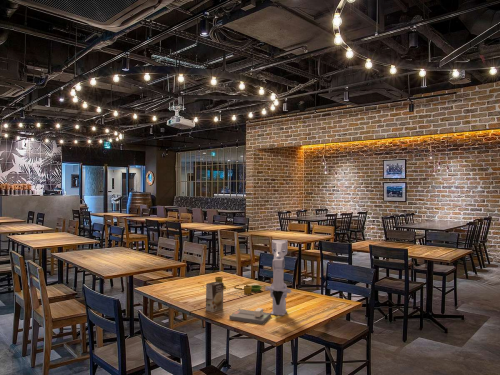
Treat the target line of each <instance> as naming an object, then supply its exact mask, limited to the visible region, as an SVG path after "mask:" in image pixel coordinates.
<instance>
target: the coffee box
mask: <svg viewBox="0 0 500 375" xmlns="http://www.w3.org/2000/svg"><path fill="white" fill-rule="evenodd" d="M211 282H212V283H211ZM211 282H209V283H205V284H206V285H205V286H206V287H205V288H206V289H205V311H207V312H211V313H214V312H217V311H221V310H224V289H223V287H224V286H225V285H224V284H225V283H224V282H223V281H222V282H223V283H222V282H216V281H211Z"/></svg>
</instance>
